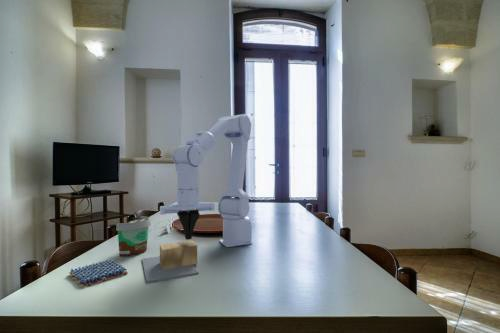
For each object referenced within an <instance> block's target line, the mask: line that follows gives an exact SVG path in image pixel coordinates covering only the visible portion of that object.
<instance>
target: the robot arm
mask: <svg viewBox="0 0 500 333" xmlns="http://www.w3.org/2000/svg"><path fill="white" fill-rule="evenodd" d="M251 130H252V122H251V119H250V117H249V116H248V114H247V113H242V114H236V115H227V116H226V115H223V116H221V117H220V118H218V119H217V122H216V123H215V124H214V125H213V126H212V127H211V128H210V129H209V130H208V131H205V130H204V131H201V130H199V131H197V132H196V136H194V137H192V138H191V139H188V140H187V141H186V143H185V144H183V145H178V146H177V147H176V148H175V150H174V151H173V154H172V161H173V163H174V165H175V170H176V172H177V173H176V175H177V176H176V177H177V178H176V182H177V186H176V187H177V188H176V189H177V195H176V196H177V199H176V200H177V204H170V205H161V206H159V215H167V214H168V215H169V214H176V215H177V216H178V219H179V221H180V223H181V225H182V229H183V233H184V238H185V241H189V240H192V237H193V233H194V229H195V226H196V223H197V221H198V219H199V218H200V215H201V214H200V212H204V211H205V212H208V211H212V212H214V211H215V209H216V208H215V207H216V206H215V203H213V202H203V203H202V202H200V200H199V198H200V191H199V190H200V188H199V187H200V186H199V185H200V184H199V183H200V182H199V181H200V180H199V178H200V177H199V176H200V173H199V172H200V168H199V166H200V165H202V163H203V162H204V157H205V156H206V154H207V153H208V152H210V151H211V150H212V149H213V148H214V147H215V145H216V141H217V140H218V139H219V138H220V137H222V136H224V138H226V140H227V141H228V142H230V143H231V144H232V148H231V149H232V151H231V157H230V165H229V166H230V167H229V173H228V179H227V181H228V182H227V188H226V189H225V190H224V191H222V192H221V193H220V198H219V201H218V203H217V210H218V213H219V214H220V216H221V218H222V239H221V238H220V239H219V240H218V241H219V242H220V243H221V244H222V245H223V246H224V247H226V248H231V247H233V248H234V247H238V246H245V245H252V244H253V241H252V229H253V228H252V221H251V218H250V217H249V216H247V215H248V214H249V212H250V201H249V199H250V196H249V194H247V193H246V192H245V190H244V180H245V170H246V163H247V155H248V145H249V141H250V139H251V134H252V133H251Z"/></svg>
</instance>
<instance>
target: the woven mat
mask: <svg viewBox="0 0 500 333" xmlns="http://www.w3.org/2000/svg"><path fill="white" fill-rule="evenodd" d="M128 273H129V272H128V271H127V268H126V267H125V266H123V265H121V264H120V263H118V262H116V261H114V260H112V259H109V260H105V261H104V260H103V261H102V262H101V261H99V262H98V263H97V262H96V263H92V264H90V265H85V266H82V267H81V266H79V267H78V268H74V269H73V268H71V269H70V271H69V273H68V274H69V275H68V277H70V279H71V280H72V281H75V282H76V284H77V285H78V287H80V288H86V287H90V286H92V285H96V284H99V283H102V282H105V281H107V280H108V281H109V280H111V279H114V278H118V277H122V276H125V275H127V274H128Z"/></svg>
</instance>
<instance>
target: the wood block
mask: <svg viewBox="0 0 500 333" xmlns="http://www.w3.org/2000/svg"><path fill="white" fill-rule="evenodd" d="M159 256H160V265H161V267H162V270H163V269H169V268H175V267H181V266H188V265H194V266H195V265H198V245H197V243H196V242H195V241H194V240H185V241H178V242H170V243H169V242H168V243H161V244H159Z"/></svg>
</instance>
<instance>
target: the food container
mask: <svg viewBox="0 0 500 333" xmlns="http://www.w3.org/2000/svg"><path fill="white" fill-rule="evenodd" d="M151 225H152V223H151V219H150V217H149V216H146V215H145V216H144V215H140V217H139V219H136V220H135V219H134V220H129V221H127V222H124V223H123V222H122V223H121V222H118V223H117V225H116V226H115V227H116V230H115V231H117V237H118V238H117V242H118V254H119V257H122V258H123V257H135V256H139V255H141V254H144V253H146V252H147V249H148V248H147V247H148V237H149V236H148V235H149V232H148V231H149V227H150V226H151Z"/></svg>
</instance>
